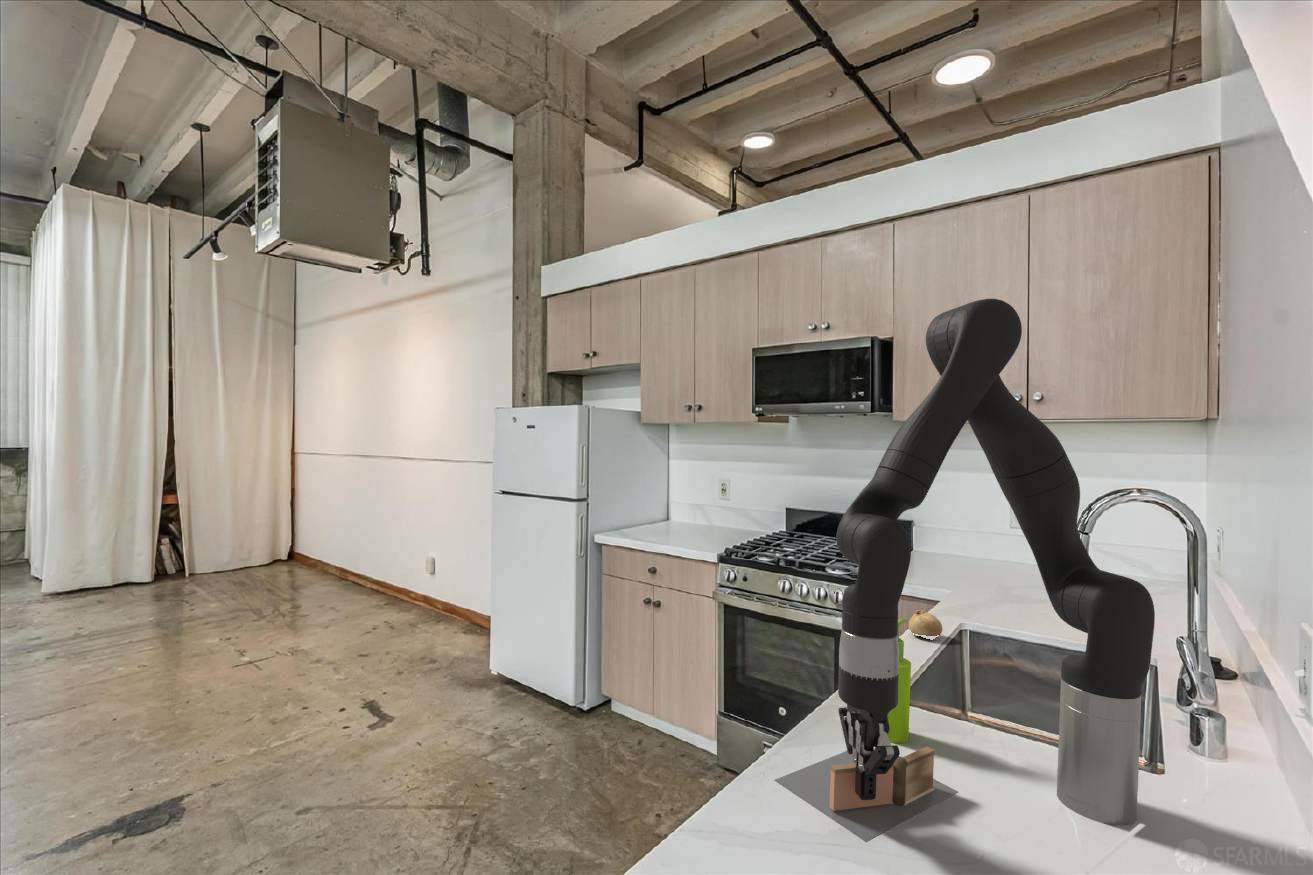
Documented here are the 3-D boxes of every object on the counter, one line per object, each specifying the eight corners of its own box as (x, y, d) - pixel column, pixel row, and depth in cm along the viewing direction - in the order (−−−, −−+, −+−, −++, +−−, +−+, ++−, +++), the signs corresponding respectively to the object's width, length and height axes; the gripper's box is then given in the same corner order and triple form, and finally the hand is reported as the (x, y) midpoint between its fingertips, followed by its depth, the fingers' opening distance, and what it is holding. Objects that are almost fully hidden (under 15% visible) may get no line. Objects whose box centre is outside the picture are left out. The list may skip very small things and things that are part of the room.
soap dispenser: (915, 734, 107) (920, 619, 107) (900, 748, 102) (904, 627, 102) (882, 723, 111) (886, 612, 111) (866, 736, 106) (870, 619, 106)
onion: (932, 633, 165) (933, 606, 165) (947, 643, 157) (948, 615, 157) (903, 632, 164) (904, 605, 164) (916, 642, 156) (917, 614, 156)
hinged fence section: (887, 798, 86) (888, 758, 86) (892, 803, 85) (894, 763, 85) (829, 805, 84) (830, 764, 84) (833, 811, 83) (835, 769, 83)
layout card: (865, 745, 102) (865, 743, 102) (958, 794, 89) (958, 791, 89) (774, 782, 91) (774, 779, 91) (865, 844, 77) (865, 841, 77)
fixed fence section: (923, 783, 91) (925, 742, 91) (935, 789, 90) (936, 748, 90) (888, 800, 86) (889, 758, 86) (899, 807, 85) (901, 764, 85)
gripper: (923, 684, 76) (919, 826, 76) (871, 648, 89) (868, 769, 89) (865, 685, 75) (861, 829, 75) (821, 649, 88) (818, 771, 88)
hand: (865, 796), depth 82 cm, fingers closed
